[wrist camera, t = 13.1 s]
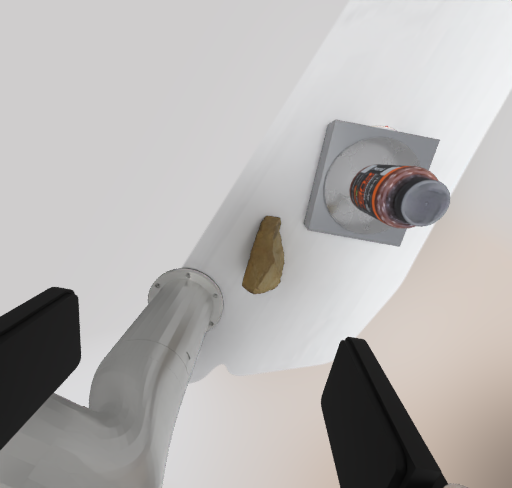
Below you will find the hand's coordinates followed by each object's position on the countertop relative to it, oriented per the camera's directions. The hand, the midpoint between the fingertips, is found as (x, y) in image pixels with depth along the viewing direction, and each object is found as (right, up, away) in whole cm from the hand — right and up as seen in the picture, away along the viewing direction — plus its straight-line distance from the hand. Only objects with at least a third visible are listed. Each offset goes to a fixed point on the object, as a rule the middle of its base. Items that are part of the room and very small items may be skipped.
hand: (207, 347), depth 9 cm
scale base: (+17, +12, +27) cm, 34 cm away
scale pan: (+17, +11, +24) cm, 31 cm away
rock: (+4, +3, +31) cm, 32 cm away
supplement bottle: (+16, +11, +23) cm, 30 cm away
